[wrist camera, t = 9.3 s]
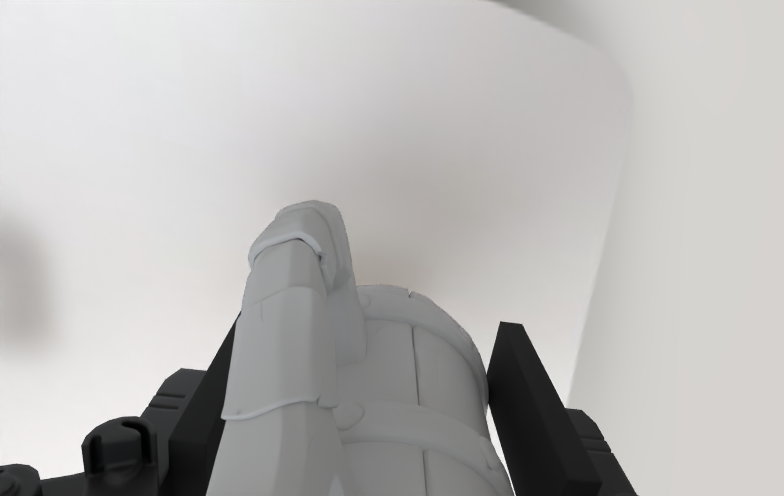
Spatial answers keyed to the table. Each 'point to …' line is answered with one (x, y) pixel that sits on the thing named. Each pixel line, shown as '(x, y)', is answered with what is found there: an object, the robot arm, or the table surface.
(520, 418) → the robot arm
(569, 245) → the table surface
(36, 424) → the table surface
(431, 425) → the mug
